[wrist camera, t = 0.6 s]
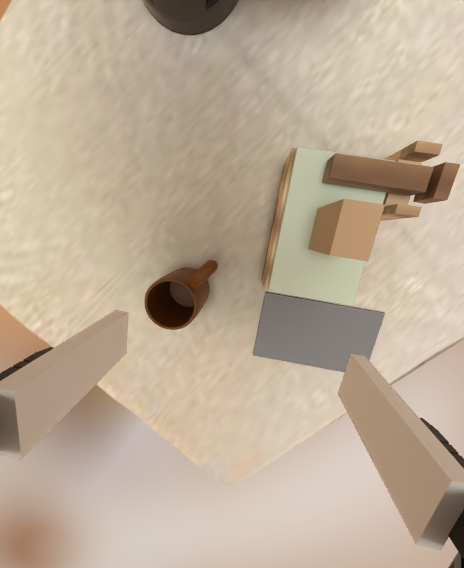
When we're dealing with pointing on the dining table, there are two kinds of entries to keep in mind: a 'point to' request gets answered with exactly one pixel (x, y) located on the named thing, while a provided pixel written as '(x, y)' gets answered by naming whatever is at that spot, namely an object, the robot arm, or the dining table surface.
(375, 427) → the robot arm
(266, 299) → the mat
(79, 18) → the dining table surface
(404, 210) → the toolbox
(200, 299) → the mug
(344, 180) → the bar
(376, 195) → the lid
